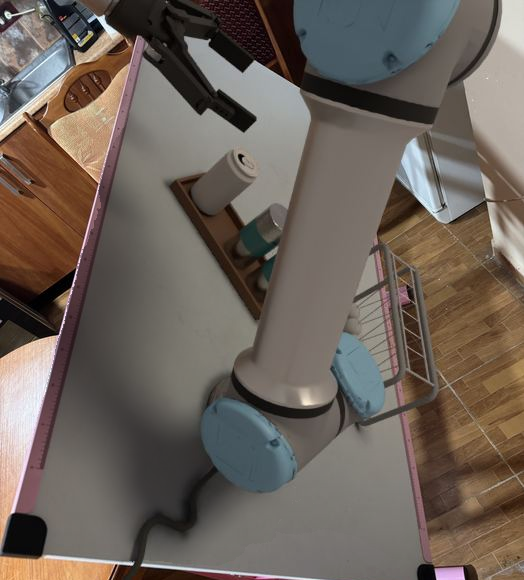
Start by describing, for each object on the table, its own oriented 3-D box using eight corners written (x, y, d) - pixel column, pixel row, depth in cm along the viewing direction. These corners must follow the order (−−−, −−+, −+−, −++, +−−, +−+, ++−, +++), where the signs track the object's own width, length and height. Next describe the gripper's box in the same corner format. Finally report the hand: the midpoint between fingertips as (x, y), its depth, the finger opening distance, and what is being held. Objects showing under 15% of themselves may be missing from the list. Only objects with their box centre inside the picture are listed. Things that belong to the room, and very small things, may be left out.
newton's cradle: (359, 430, 105) (442, 398, 94) (321, 412, 99) (404, 377, 88) (349, 302, 121) (418, 263, 110) (315, 281, 115) (385, 237, 104)
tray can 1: (236, 273, 98) (284, 238, 90) (217, 244, 97) (264, 206, 90) (255, 264, 102) (301, 230, 95) (236, 236, 102) (282, 199, 94)
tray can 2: (258, 307, 98) (308, 275, 90) (239, 278, 98) (287, 243, 90) (275, 296, 103) (323, 265, 95) (257, 268, 102) (304, 234, 95)
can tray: (255, 320, 97) (263, 315, 96) (169, 185, 95) (175, 179, 94) (284, 301, 105) (291, 296, 103) (204, 177, 103) (210, 171, 102)
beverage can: (188, 180, 99) (232, 137, 91) (217, 197, 103) (261, 157, 95) (187, 206, 96) (232, 164, 88) (217, 223, 99) (262, 184, 92)
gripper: (112, -36, 77) (232, 60, 89) (89, 76, 64) (233, 170, 76) (141, -84, 72) (264, 24, 84) (122, 26, 59) (270, 135, 72)
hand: (249, 94), depth 80 cm, fingers open, 13 cm apart
